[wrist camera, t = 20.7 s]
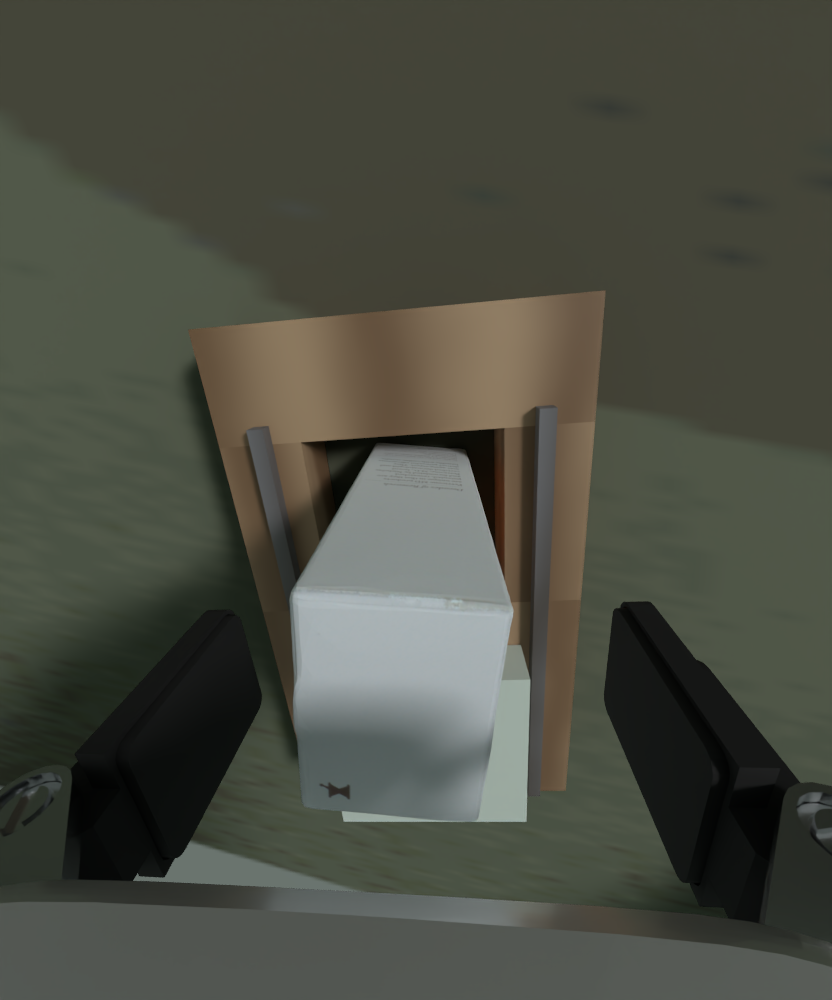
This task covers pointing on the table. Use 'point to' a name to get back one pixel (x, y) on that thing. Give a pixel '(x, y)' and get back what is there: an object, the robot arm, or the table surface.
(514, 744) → the lid
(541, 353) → the brown wooden sliding box
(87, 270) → the table surface
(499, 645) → the skincare box
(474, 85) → the table surface
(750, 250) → the table surface
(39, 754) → the table surface
